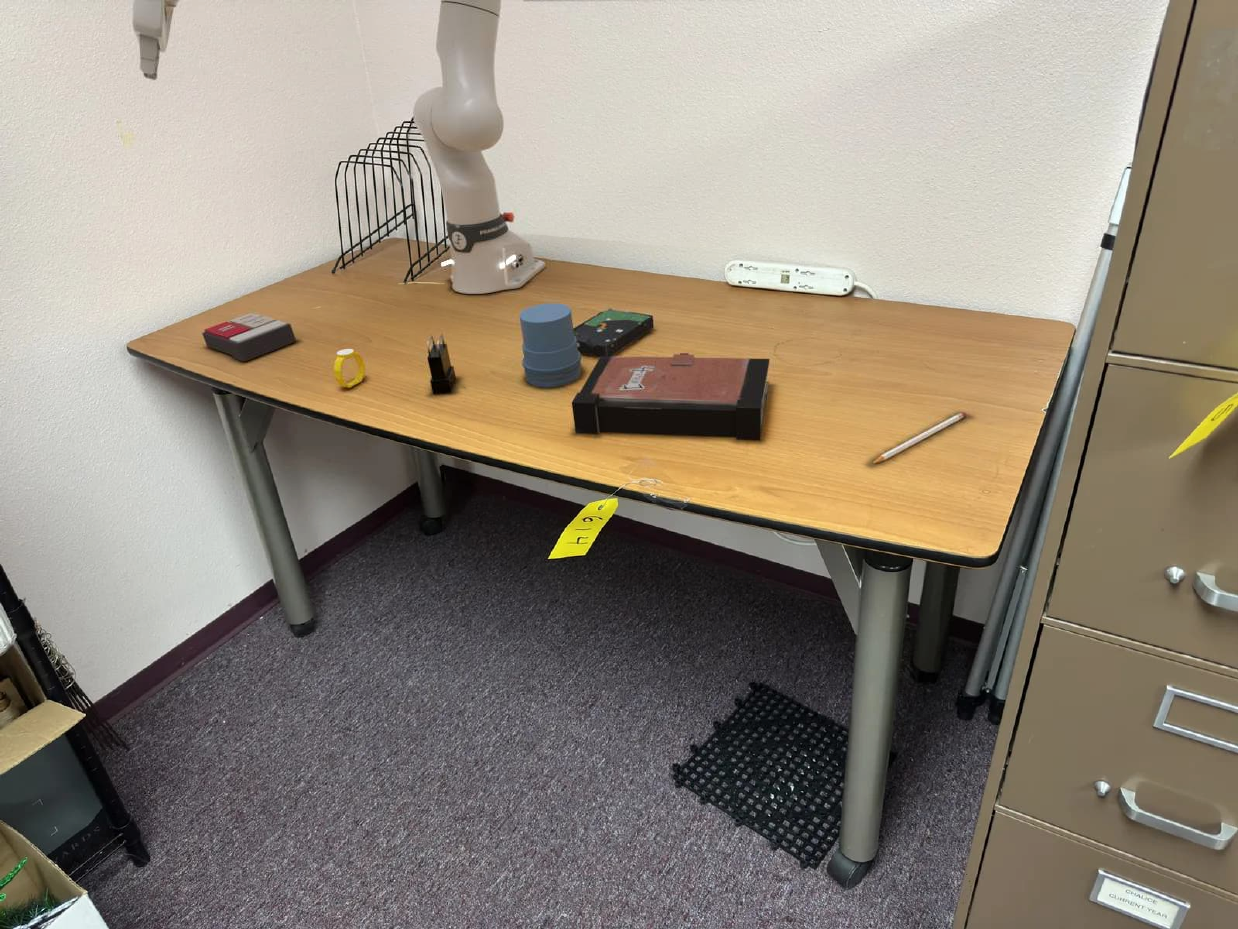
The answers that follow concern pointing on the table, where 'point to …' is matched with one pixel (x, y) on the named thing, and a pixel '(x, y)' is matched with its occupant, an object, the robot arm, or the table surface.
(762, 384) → the book
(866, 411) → the table surface
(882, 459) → the pencil
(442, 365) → the clip
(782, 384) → the table surface
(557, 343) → the cup stack
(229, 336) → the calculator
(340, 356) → the watch
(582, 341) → the disk drive
